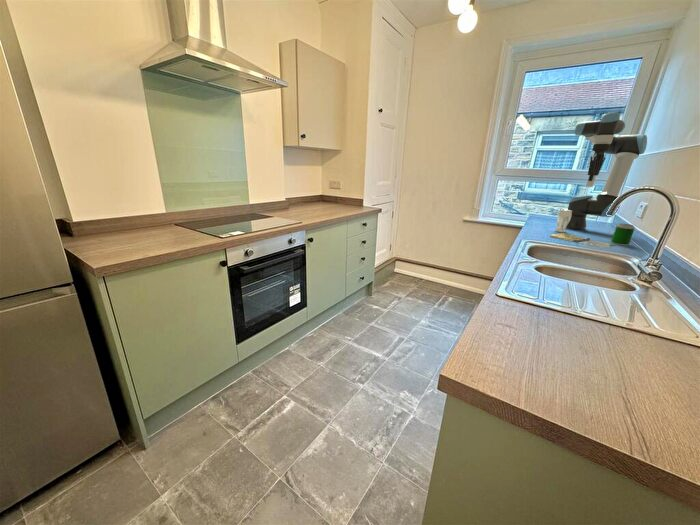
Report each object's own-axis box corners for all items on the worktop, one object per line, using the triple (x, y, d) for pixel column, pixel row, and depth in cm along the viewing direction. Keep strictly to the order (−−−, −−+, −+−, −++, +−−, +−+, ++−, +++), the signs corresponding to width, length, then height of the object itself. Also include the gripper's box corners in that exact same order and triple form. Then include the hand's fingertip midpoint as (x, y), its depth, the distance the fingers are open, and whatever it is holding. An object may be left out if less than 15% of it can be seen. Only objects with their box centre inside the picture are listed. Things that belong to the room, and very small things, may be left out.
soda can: (631, 247, 156) (639, 226, 152) (617, 247, 156) (625, 225, 152) (619, 244, 163) (627, 223, 159) (606, 243, 163) (613, 223, 159)
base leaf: (585, 241, 167) (587, 237, 166) (616, 247, 155) (617, 243, 155) (572, 243, 160) (573, 239, 159) (603, 250, 148) (604, 246, 147)
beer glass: (555, 233, 185) (562, 210, 180) (551, 231, 191) (558, 208, 187) (567, 234, 183) (574, 211, 178) (563, 232, 190) (570, 209, 185)
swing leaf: (563, 234, 177) (564, 231, 176) (589, 241, 166) (591, 238, 165) (549, 236, 169) (550, 233, 169) (576, 244, 158) (577, 240, 157)
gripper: (599, 144, 166) (587, 186, 173) (589, 143, 160) (576, 186, 167) (615, 144, 159) (601, 187, 167) (605, 142, 153) (591, 187, 161)
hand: (589, 186), depth 167 cm, fingers closed
